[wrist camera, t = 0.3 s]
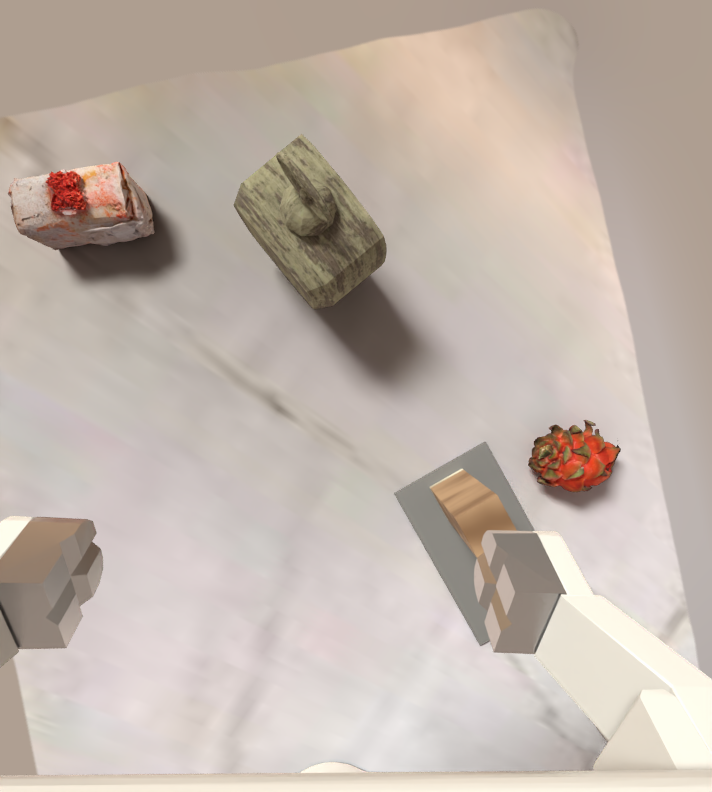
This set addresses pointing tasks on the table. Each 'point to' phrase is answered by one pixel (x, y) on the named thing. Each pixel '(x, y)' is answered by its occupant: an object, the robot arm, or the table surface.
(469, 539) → the light brown wooden block
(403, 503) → the rubber mat
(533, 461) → the dragon fruit
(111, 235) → the food item
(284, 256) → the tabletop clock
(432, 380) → the table surface
